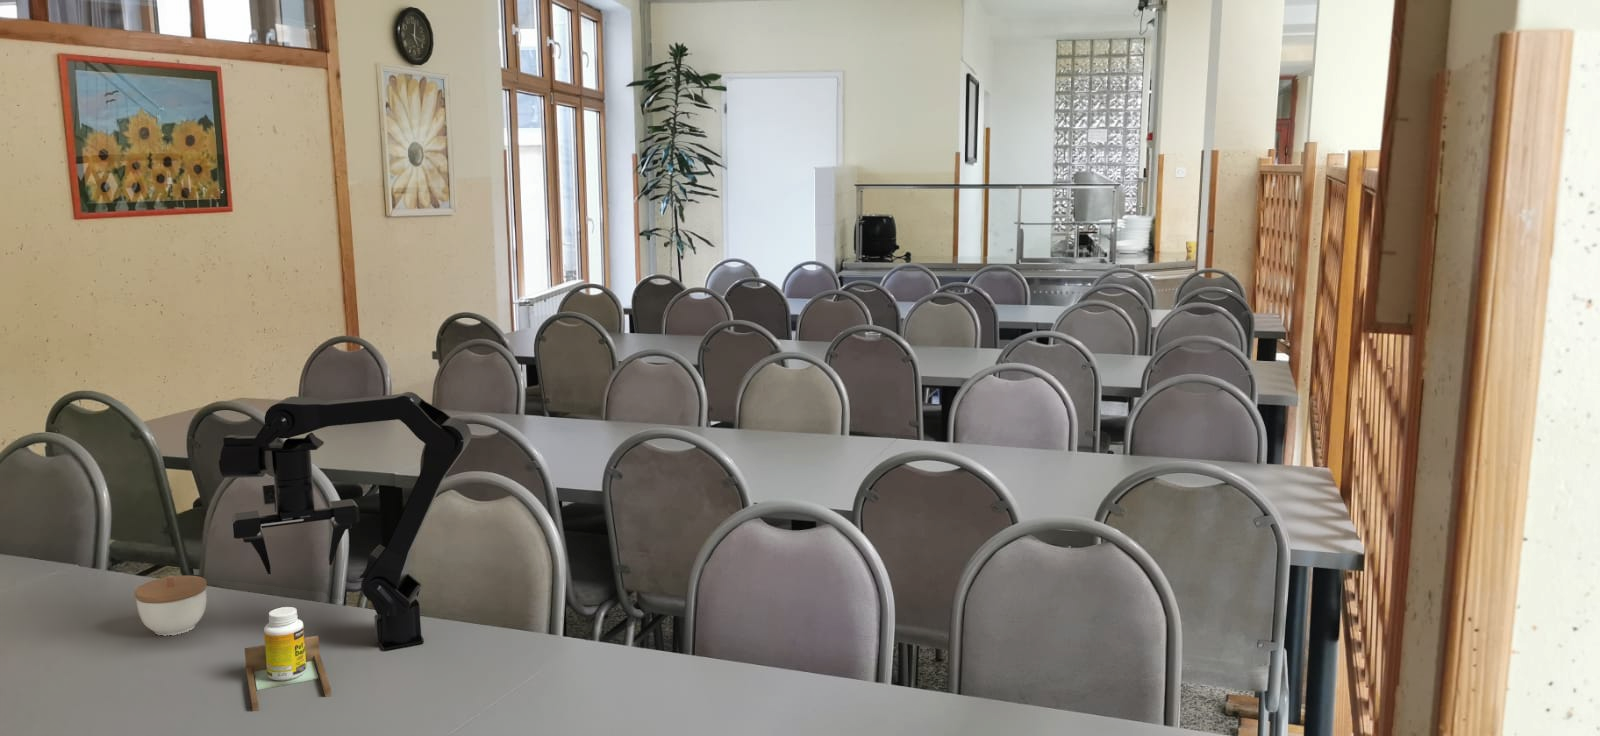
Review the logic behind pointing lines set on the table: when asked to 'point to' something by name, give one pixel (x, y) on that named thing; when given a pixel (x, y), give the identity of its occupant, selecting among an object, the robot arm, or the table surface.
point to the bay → (258, 666)
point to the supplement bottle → (284, 644)
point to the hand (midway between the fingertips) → (300, 568)
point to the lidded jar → (172, 603)
